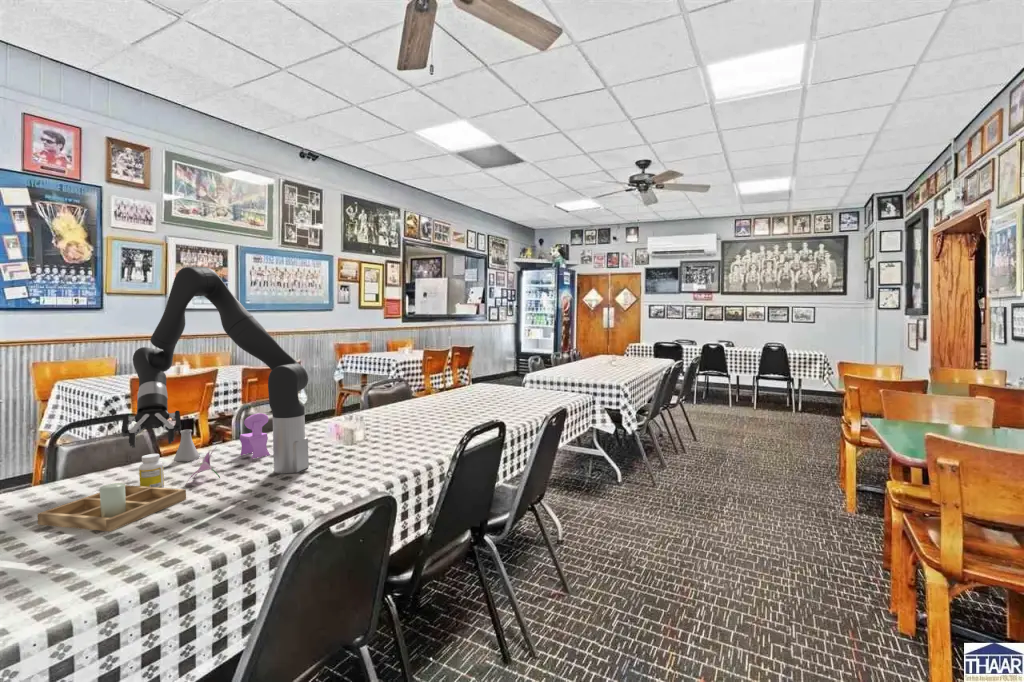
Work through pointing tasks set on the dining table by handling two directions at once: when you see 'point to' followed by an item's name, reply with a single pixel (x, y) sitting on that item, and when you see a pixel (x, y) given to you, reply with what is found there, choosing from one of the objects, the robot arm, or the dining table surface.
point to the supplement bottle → (151, 471)
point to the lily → (205, 464)
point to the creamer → (112, 499)
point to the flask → (186, 448)
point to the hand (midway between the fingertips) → (152, 444)
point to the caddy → (89, 516)
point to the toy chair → (255, 436)
